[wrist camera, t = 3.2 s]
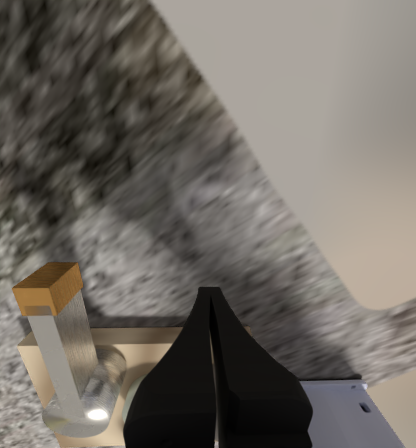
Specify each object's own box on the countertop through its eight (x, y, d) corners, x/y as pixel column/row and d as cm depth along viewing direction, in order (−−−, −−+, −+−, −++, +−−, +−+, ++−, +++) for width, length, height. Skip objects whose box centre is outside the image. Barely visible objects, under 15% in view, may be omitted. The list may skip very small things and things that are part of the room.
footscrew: (107, 253, 12) (75, 288, 9) (129, 383, 16) (113, 436, 13) (40, 253, 12) (-17, 288, 9) (80, 384, 16) (51, 438, 13)
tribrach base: (249, 326, 17) (267, 388, 12) (236, 427, 22) (245, 496, 17) (33, 329, 16) (-32, 396, 11) (72, 432, 21) (38, 507, 16)
